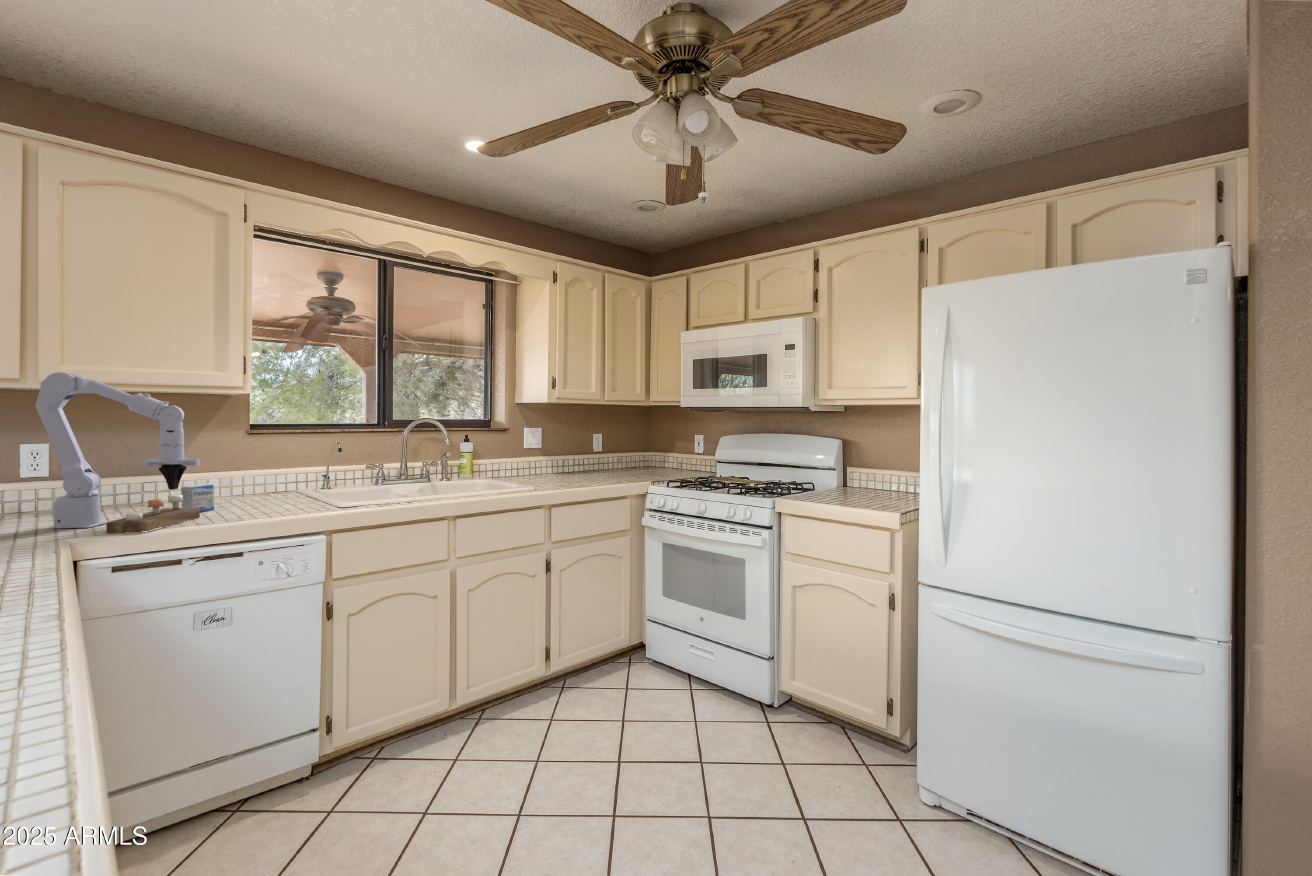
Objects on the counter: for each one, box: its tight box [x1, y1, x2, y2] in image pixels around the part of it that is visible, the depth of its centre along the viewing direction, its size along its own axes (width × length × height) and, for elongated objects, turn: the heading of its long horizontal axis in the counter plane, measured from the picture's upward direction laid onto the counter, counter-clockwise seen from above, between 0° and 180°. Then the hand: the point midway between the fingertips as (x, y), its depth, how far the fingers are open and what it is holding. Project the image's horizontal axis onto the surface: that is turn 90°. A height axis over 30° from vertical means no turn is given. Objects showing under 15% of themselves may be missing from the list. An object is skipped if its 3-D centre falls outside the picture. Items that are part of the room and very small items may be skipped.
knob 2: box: [167, 494, 183, 510], centre depth 187 cm, size 4×4×4 cm
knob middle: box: [147, 498, 165, 515], centre depth 178 cm, size 4×4×4 cm
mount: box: [105, 507, 201, 534], centre depth 178 cm, size 10×24×3 cm, turn 8°
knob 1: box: [125, 512, 143, 521], centre depth 169 cm, size 4×4×4 cm
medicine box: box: [180, 483, 215, 513], centre depth 202 cm, size 8×4×9 cm, turn 168°
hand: (173, 489), depth 186 cm, fingers closed
